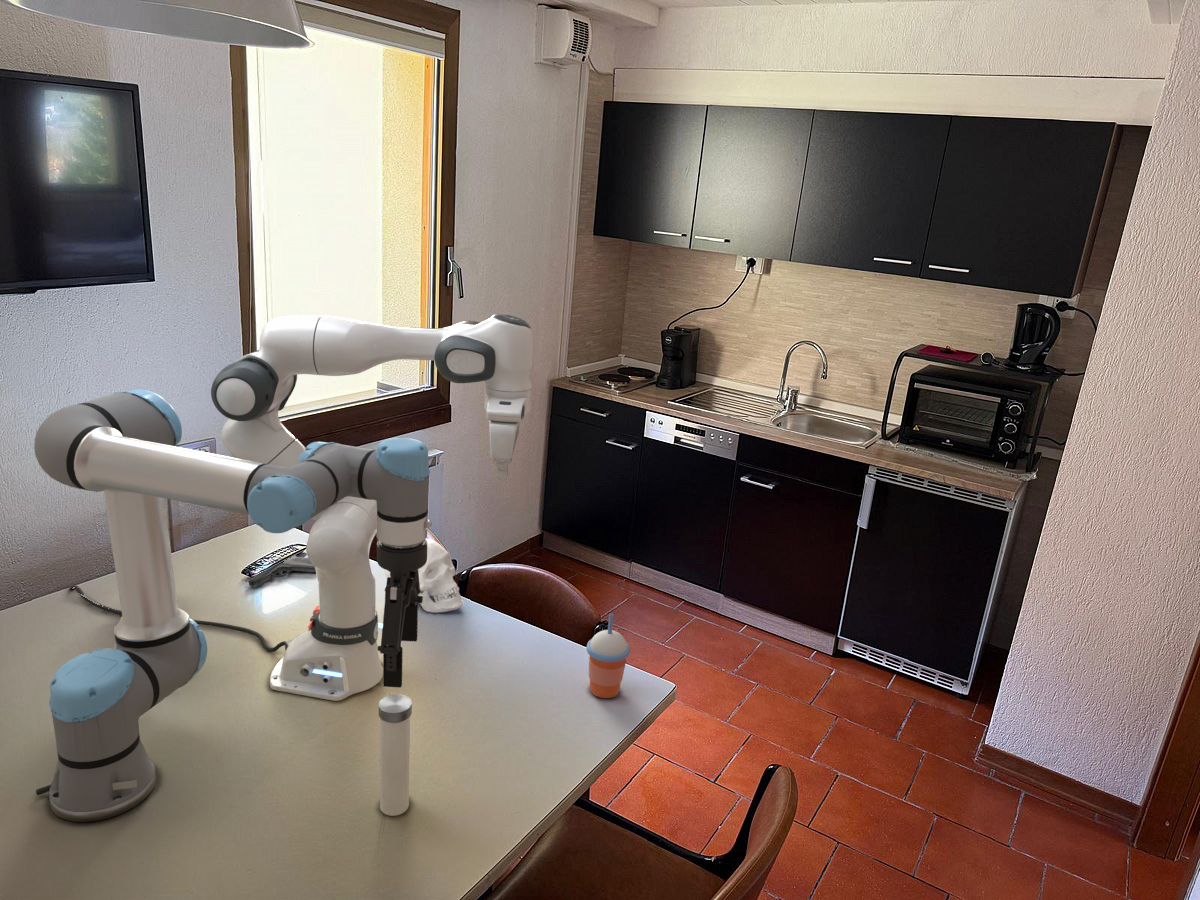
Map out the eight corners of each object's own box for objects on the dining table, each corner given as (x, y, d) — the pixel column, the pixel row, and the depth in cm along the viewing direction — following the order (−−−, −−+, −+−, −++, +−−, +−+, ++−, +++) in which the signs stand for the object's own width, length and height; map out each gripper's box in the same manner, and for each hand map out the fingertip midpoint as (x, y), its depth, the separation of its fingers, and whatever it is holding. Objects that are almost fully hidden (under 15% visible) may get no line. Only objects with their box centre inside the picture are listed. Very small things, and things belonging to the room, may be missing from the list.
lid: (397, 700, 142) (397, 690, 141) (418, 713, 139) (418, 703, 138) (371, 713, 138) (371, 703, 137) (392, 727, 135) (392, 717, 134)
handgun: (292, 594, 211) (247, 586, 213) (325, 565, 228) (283, 558, 229) (291, 586, 211) (246, 578, 212) (325, 557, 227) (283, 550, 229)
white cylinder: (396, 792, 147) (397, 694, 141) (414, 805, 144) (416, 705, 138) (374, 806, 143) (374, 705, 138) (392, 820, 141) (392, 718, 135)
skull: (448, 622, 203) (451, 561, 199) (372, 599, 211) (374, 540, 207) (477, 602, 215) (480, 543, 211) (405, 581, 223) (406, 524, 219)
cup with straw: (621, 706, 176) (629, 628, 171) (578, 698, 178) (585, 621, 173) (629, 682, 185) (636, 608, 180) (588, 675, 186) (594, 601, 181)
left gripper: (412, 577, 118) (410, 708, 125) (439, 511, 142) (436, 624, 149) (358, 573, 118) (359, 706, 124) (393, 508, 142) (392, 622, 148)
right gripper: (496, 387, 172) (494, 452, 176) (485, 413, 153) (482, 486, 157) (528, 390, 172) (524, 455, 176) (520, 416, 153) (516, 488, 157)
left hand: (401, 662), depth 136 cm, fingers open, 13 cm apart
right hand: (504, 470), depth 166 cm, fingers open, 8 cm apart
